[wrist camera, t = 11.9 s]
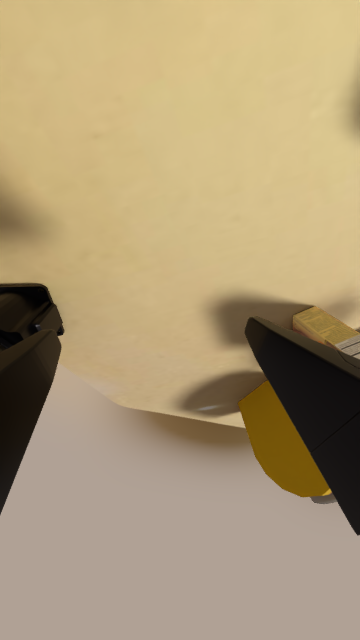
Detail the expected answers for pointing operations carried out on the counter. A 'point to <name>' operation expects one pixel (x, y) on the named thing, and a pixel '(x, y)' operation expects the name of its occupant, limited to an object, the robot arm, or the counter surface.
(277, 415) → the alarm clock
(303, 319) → the candy box
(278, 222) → the counter surface
